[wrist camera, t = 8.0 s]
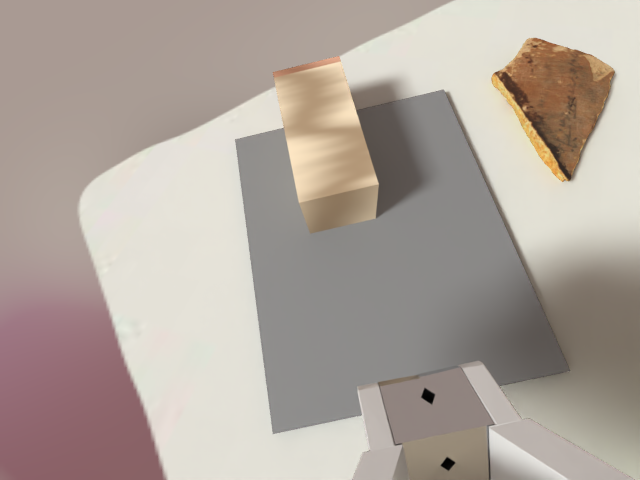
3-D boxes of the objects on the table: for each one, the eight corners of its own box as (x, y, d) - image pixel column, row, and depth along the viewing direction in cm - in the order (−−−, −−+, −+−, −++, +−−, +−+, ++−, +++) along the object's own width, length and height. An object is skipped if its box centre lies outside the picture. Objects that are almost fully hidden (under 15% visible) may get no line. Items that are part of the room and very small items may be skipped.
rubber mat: (441, 95, 27) (443, 89, 26) (564, 370, 19) (570, 371, 18) (237, 144, 27) (235, 139, 27) (275, 432, 19) (272, 434, 19)
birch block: (375, 218, 23) (342, 105, 27) (378, 184, 19) (339, 56, 22) (310, 233, 23) (286, 119, 27) (298, 202, 19) (272, 72, 23)
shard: (557, 192, 23) (572, 178, 22) (451, 148, 25) (458, 132, 24) (607, 82, 26) (625, 62, 24) (508, 50, 28) (518, 30, 26)
